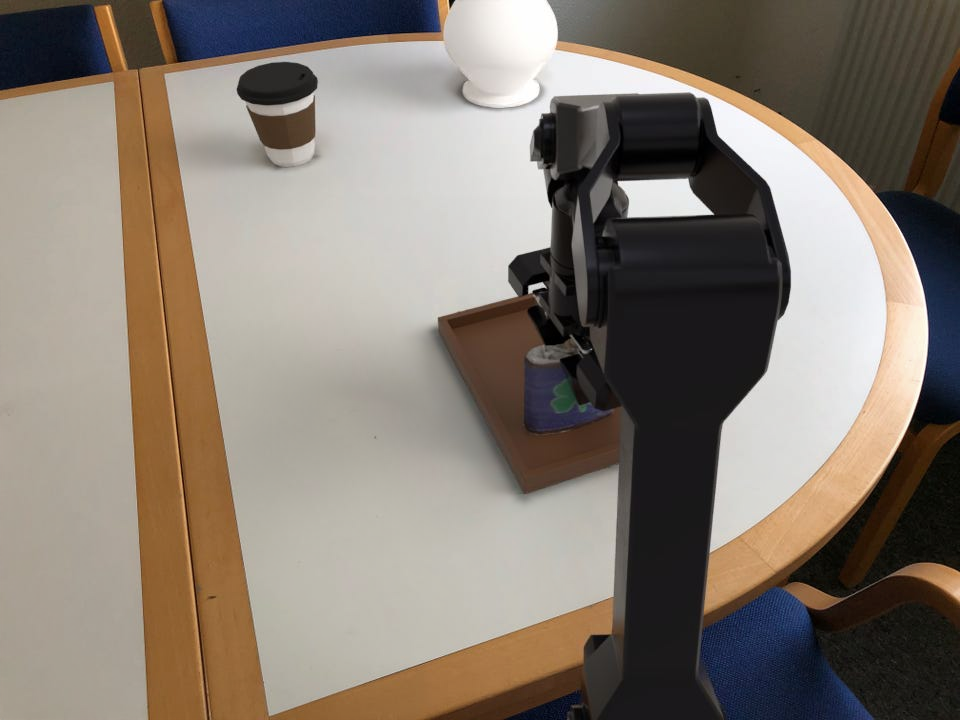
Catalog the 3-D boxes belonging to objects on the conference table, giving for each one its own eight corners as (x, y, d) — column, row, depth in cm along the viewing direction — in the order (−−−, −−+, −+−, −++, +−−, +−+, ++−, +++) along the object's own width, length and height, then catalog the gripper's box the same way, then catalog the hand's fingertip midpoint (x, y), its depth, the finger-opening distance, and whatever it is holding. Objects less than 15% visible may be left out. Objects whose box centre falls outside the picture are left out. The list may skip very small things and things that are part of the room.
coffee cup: (337, 139, 119) (324, 60, 111) (319, 177, 111) (304, 94, 103) (266, 137, 120) (249, 59, 112) (244, 174, 112) (223, 93, 104)
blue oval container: (609, 396, 77) (619, 311, 70) (621, 417, 75) (633, 332, 68) (519, 419, 75) (520, 334, 68) (530, 441, 73) (531, 356, 66)
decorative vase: (557, 115, 123) (564, -62, 106) (442, 116, 124) (431, -60, 107) (554, 68, 136) (560, -96, 119) (450, 69, 137) (441, -94, 120)
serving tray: (697, 437, 74) (701, 422, 72) (524, 494, 70) (524, 479, 68) (584, 293, 90) (586, 278, 89) (438, 332, 86) (437, 317, 84)
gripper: (743, 293, 58) (707, 436, 68) (620, 175, 71) (606, 310, 81) (606, 332, 55) (591, 474, 66) (505, 201, 68) (506, 338, 79)
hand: (575, 391), depth 73 cm, fingers open, 3 cm apart
